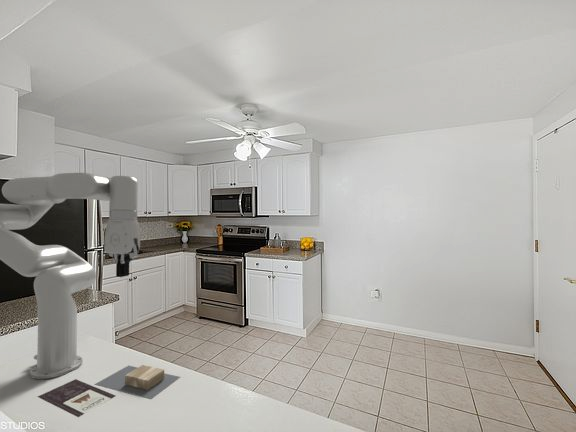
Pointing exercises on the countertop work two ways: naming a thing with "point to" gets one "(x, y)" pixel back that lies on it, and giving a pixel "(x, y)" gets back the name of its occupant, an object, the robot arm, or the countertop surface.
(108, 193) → the robot arm
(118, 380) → the mat
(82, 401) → the chocolate bar
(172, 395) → the countertop surface
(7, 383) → the countertop surface
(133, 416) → the countertop surface
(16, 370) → the countertop surface
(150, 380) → the wooden block
